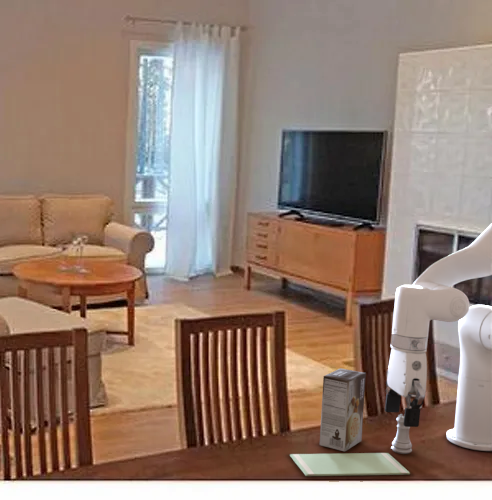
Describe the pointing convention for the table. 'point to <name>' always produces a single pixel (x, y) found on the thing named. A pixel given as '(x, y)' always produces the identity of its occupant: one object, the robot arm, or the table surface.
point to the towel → (348, 464)
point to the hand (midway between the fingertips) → (401, 418)
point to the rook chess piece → (402, 438)
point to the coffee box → (342, 409)
